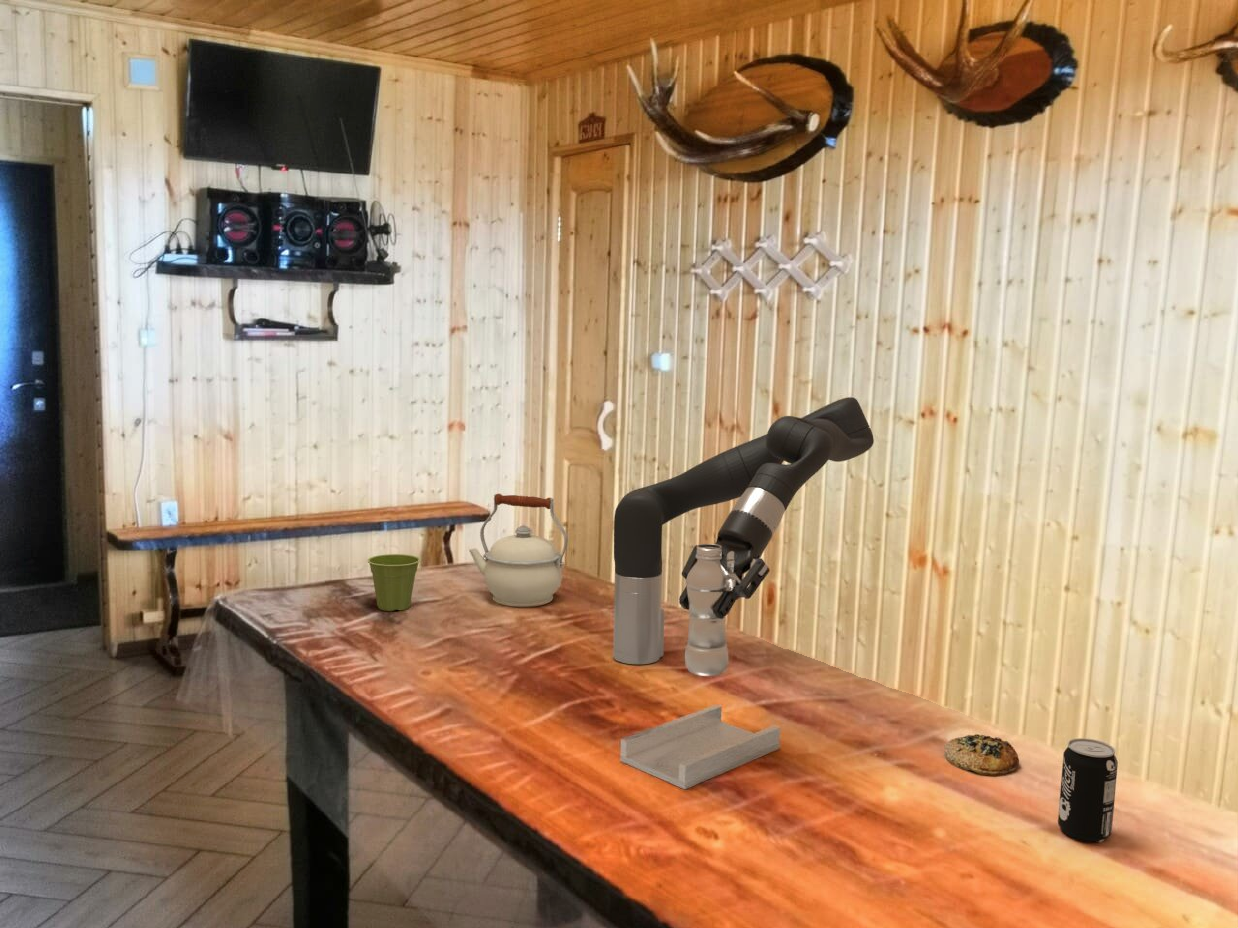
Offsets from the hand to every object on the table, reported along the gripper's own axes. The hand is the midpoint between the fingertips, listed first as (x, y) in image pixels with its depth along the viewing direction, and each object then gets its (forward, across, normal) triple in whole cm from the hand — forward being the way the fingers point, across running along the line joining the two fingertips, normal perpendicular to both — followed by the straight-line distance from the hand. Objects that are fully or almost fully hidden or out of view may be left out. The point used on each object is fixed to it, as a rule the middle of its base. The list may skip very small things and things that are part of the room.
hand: (700, 610), depth 162 cm
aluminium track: (+16, 0, -17) cm, 23 cm away
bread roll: (-5, -30, -39) cm, 50 cm away
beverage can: (+2, -51, -31) cm, 60 cm away
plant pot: (+9, +102, -25) cm, 105 cm away
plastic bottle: (+6, 0, -9) cm, 11 cm away
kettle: (-10, +90, -43) cm, 100 cm away
